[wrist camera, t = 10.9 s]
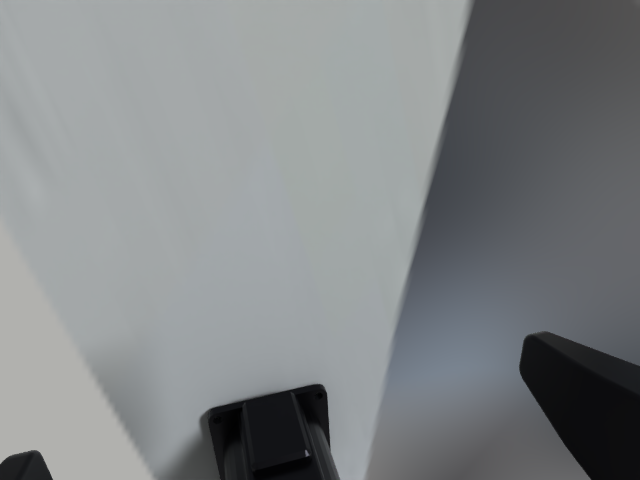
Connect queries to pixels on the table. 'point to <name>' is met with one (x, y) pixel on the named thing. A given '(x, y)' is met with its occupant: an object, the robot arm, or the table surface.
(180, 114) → the table surface
